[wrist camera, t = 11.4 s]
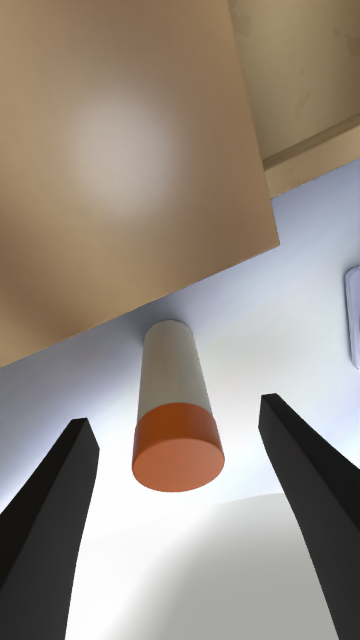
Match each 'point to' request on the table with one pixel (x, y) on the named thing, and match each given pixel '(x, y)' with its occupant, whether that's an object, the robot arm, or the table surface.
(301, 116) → the drawer
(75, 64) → the cabinet
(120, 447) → the table surface
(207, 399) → the glue stick
